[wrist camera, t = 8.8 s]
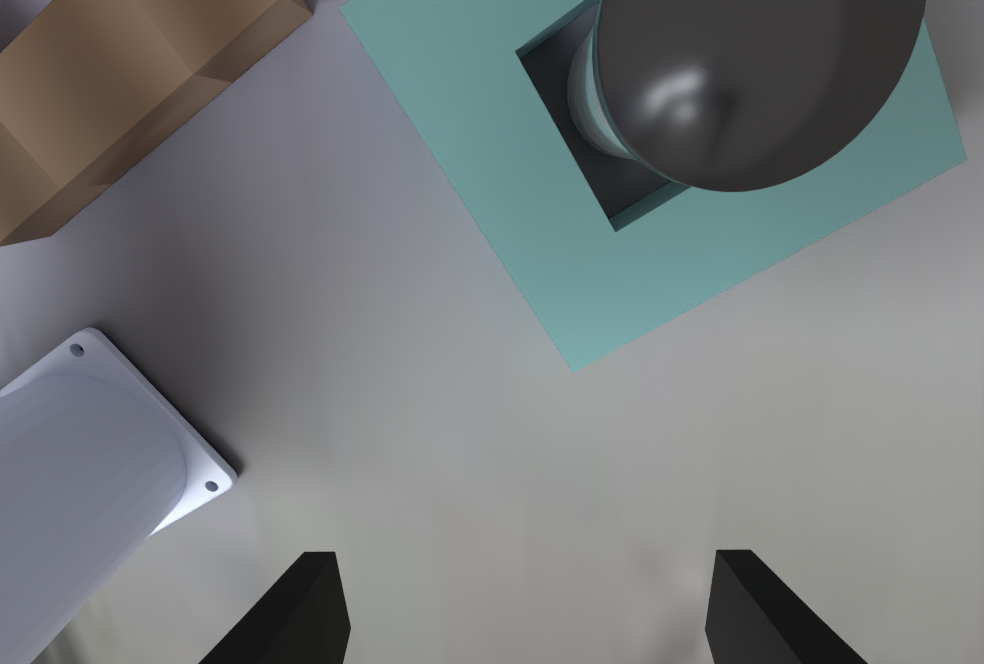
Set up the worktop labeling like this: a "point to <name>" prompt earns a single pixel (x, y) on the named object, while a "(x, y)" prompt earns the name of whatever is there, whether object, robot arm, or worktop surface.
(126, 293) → the worktop surface
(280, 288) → the worktop surface
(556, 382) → the worktop surface
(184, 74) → the mount board
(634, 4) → the lock pin
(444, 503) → the worktop surface
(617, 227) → the socket board
